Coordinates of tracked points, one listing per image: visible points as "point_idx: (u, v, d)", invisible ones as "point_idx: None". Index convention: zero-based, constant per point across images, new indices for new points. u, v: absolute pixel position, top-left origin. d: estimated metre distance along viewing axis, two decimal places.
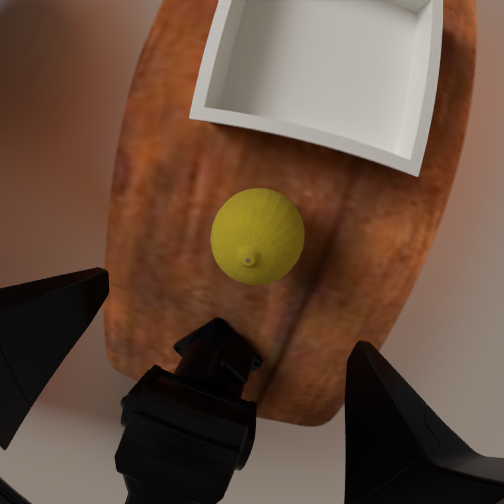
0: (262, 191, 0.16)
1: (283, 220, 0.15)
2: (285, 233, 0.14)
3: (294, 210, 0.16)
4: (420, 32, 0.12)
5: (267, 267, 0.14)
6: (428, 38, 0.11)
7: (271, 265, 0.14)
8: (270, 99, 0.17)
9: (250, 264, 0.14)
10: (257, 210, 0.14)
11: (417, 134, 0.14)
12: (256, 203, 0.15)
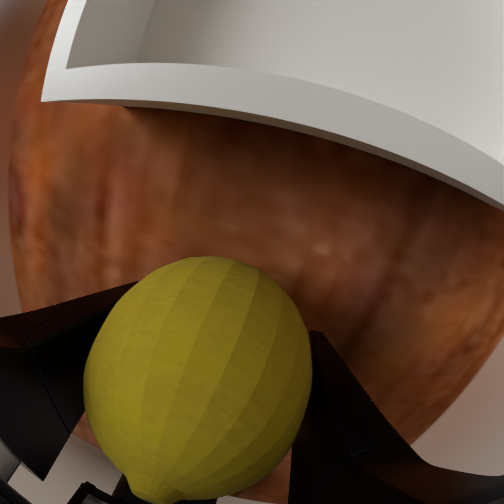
0: (197, 288, 0.06)
1: (248, 410, 0.04)
2: (252, 445, 0.04)
3: (288, 341, 0.06)
4: None
5: (206, 498, 0.04)
6: None
7: (216, 496, 0.04)
8: (238, 44, 0.07)
9: None
10: (161, 385, 0.04)
11: None
12: (161, 352, 0.04)
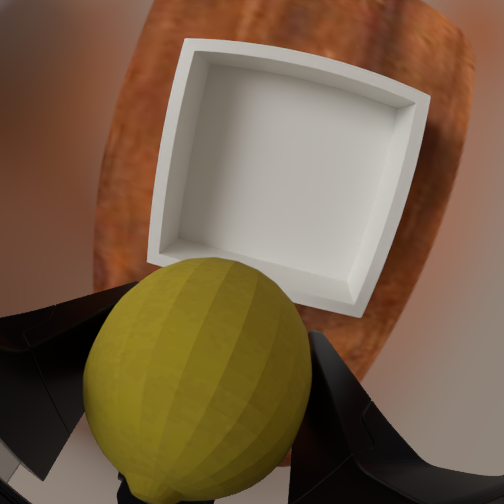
0: (196, 290, 0.06)
1: (247, 412, 0.04)
2: (252, 447, 0.04)
3: (288, 343, 0.06)
4: (395, 143, 0.15)
5: None
6: (400, 162, 0.14)
7: (216, 498, 0.04)
8: (225, 229, 0.20)
9: None
10: (161, 387, 0.04)
11: (365, 281, 0.16)
12: (160, 354, 0.04)
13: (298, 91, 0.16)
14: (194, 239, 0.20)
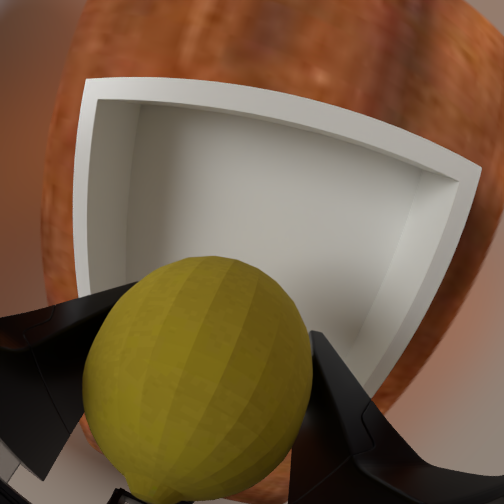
0: (197, 288, 0.05)
1: (248, 411, 0.04)
2: (252, 446, 0.04)
3: (288, 342, 0.05)
4: (414, 230, 0.10)
5: (206, 499, 0.04)
6: (418, 274, 0.09)
7: (216, 498, 0.04)
8: None
9: None
10: (161, 386, 0.04)
11: None
12: (161, 353, 0.04)
13: (268, 144, 0.11)
14: None
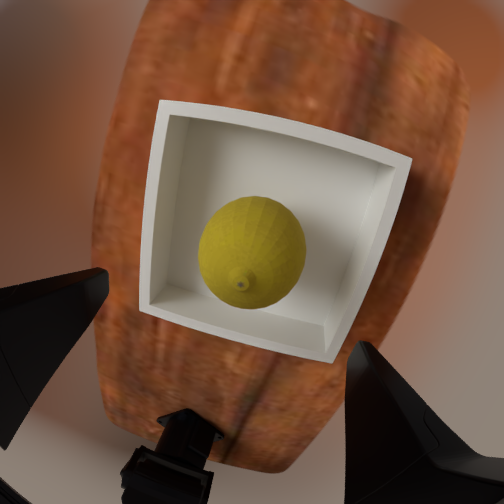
0: (257, 200, 0.14)
1: (282, 236, 0.12)
2: (285, 251, 0.12)
3: (295, 222, 0.14)
4: (373, 202, 0.16)
5: (263, 291, 0.12)
6: (375, 227, 0.15)
7: (268, 289, 0.12)
8: None
9: (244, 288, 0.12)
10: (252, 224, 0.12)
11: (335, 334, 0.17)
12: (250, 215, 0.12)
13: (277, 148, 0.17)
14: (182, 286, 0.22)
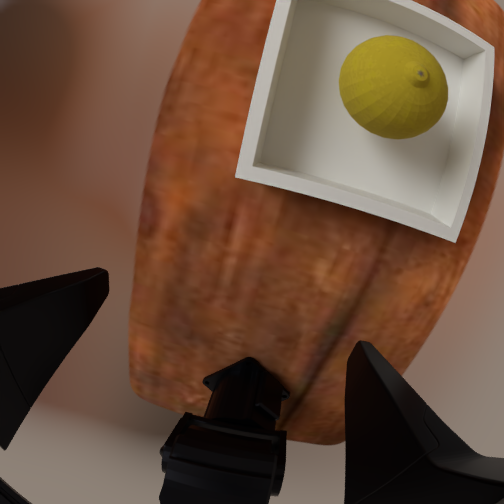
0: None
1: (434, 57, 0.09)
2: (441, 67, 0.08)
3: None
4: (467, 84, 0.12)
5: (434, 93, 0.09)
6: (478, 96, 0.11)
7: (437, 92, 0.09)
8: (316, 152, 0.17)
9: (423, 79, 0.08)
10: (410, 40, 0.08)
11: (460, 202, 0.14)
12: (403, 37, 0.09)
13: (382, 31, 0.13)
14: (279, 163, 0.18)
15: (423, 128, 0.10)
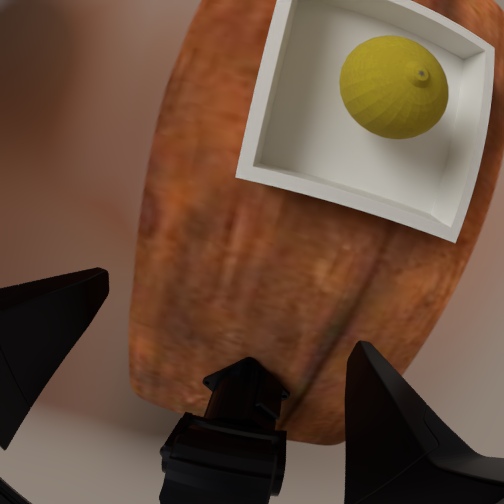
0: None
1: (434, 57, 0.09)
2: (441, 67, 0.08)
3: None
4: (467, 85, 0.12)
5: (435, 93, 0.09)
6: (478, 97, 0.11)
7: (438, 92, 0.09)
8: (316, 152, 0.17)
9: (424, 78, 0.08)
10: (410, 40, 0.08)
11: (460, 202, 0.14)
12: (404, 37, 0.09)
13: (383, 31, 0.13)
14: (280, 163, 0.18)
15: (424, 128, 0.10)
